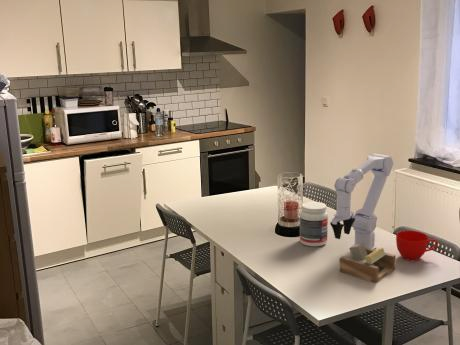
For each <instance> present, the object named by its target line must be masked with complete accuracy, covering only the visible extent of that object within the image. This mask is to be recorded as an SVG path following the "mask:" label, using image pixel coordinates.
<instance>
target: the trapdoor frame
mask: <svg viewBox="0 0 460 345" xmlns="http://www.w3.org/2000/svg"><path fill="white" fill-rule="evenodd" d="M365 249H366V252H367V255H369V254H371V253H372V252H374V251H375V250H376V249H371V248H367V247H365ZM384 252H385V253H386V255H384V256H383V257H382V258H380V259H379V260H377V261H376V262H374V263H373V264H367V263H364V262H360V261H357V260H353V258H350V257H345V256H341V257H339V272H340V273H343V274H346V275H350V276H353V277H356V278H358V279H363V280H366V281H369V282H372V283H375V284H376V283H378V282H379V281H380V280H381V279H383V278H385V277H386V276H387V275H388V274H390V273H391V272H392V271H394V270H395V269H396V255H395V254H393V253H389V252H386V251H384ZM379 268H383V269H382V270H381V271H379Z"/></svg>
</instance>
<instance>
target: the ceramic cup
mask: <svg viewBox="0 0 460 345" xmlns="http://www.w3.org/2000/svg"><path fill="white" fill-rule="evenodd" d="M395 236H396V237H395V242H396V248H397V251H398V252H399V255H400V256H401V257H402V258H403V259H404V260H407V261H411V262H412V261H418V260H420V259H421V257H423V256H424V254H425V253H427V252H430V251H433V250H435V249H436V248H437V246H438V244H439V242H438V241H437V239H435V238H434V239H433V238H431V239H429V236H428V235H427V234H426V233H425V232H424V233H423V232H420V231H417V230H416V231H415V230H403V231H402V230H401V231H398V232H397V233H396V235H395ZM431 242H435V244H434V246H433V247H431V248H428V245H429V243H431Z"/></svg>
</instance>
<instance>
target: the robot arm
mask: <svg viewBox="0 0 460 345" xmlns="http://www.w3.org/2000/svg"><path fill="white" fill-rule="evenodd" d="M393 167H394V161H393V157H392V156H391V155H385V154H378V153H374V152H372V153H369V155H367V157H366V161H364V163H362V164H361V166H359V167H358V168H352V169H351V170H350V171H348V172H347V174H345V175H344V176H343V177H341V176H340V177H338V178H337V179H335V181H334V184H333V187H334V189H335V195H336V210H335V211H336V213H334V214H333V216H334V217H333V218H332V219H331V221H330V226H331V228H332V231H333V234H334V238H335V239H336V240H337V239H338V240H340V239H341V236H342V232H343V233H344V234H346V235H350V233H351V230H352V228H353V231H354V244H353V245H356V244H362V243H363V244H364V246H365V247H367V248H371V249H374V250H376V249H377V246H375V242H376V241H375V240H376V239H375V238H376V234H375V229H376V228H377V222H378V216H377V215H376V213H375V210H376V208H377V205H378V202H379V200H380V197H381V195H382V192H383V190H384V187H385V183H386V181H387V179H388V177H389V176H390V174H391V172H392V169H393ZM369 172H371V173H372V174H373V175H374V177H373V179H372V183H371V184H370V187H369V190H368V191H367V195H366V197H365V200H364V202H363V205H362V208H360V209H358V210H356V211H355V212H354V211H351V203H352V202H351V200H352V193H353V191H354V189H355V187H356V185H357V184H359V183H360V182H361V181H362V180H363V179H364V175H366V174H368V173H369ZM341 222H342V223H341ZM342 230H343V231H342Z"/></svg>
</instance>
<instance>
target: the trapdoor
mask: <svg viewBox="0 0 460 345" xmlns="http://www.w3.org/2000/svg"><path fill="white" fill-rule="evenodd" d="M374 250H375V251H374V252H372V253H371V254H369V255H367V256H366V257H365V259H364V260H363V261H360V262H364V263H367V264H370V265H373V263H374V262H376V261H377V260H379V259H380V258H382V257H383V256H384V255H386V253H387V252H386V251H385V250H384V248H383V247H380V248H376V249H374ZM385 252H386V253H385Z"/></svg>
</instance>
